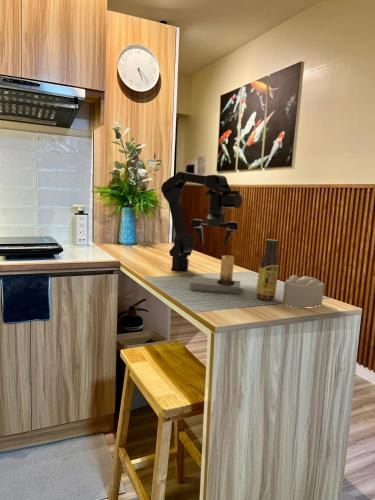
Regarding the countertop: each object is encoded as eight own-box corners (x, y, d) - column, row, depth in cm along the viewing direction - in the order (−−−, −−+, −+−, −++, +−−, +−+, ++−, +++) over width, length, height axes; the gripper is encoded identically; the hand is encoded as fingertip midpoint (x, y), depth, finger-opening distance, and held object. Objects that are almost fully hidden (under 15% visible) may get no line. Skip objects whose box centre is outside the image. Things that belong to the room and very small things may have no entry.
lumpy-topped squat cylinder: (326, 305, 120) (329, 279, 119) (300, 310, 113) (303, 283, 111) (300, 297, 128) (302, 272, 127) (274, 301, 121) (276, 275, 120)
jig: (190, 289, 130) (190, 282, 129) (194, 283, 139) (194, 276, 139) (238, 294, 127) (239, 287, 127) (239, 287, 137) (240, 281, 136)
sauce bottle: (263, 301, 120) (269, 241, 117) (252, 296, 125) (257, 238, 122) (279, 300, 123) (285, 240, 120) (267, 295, 128) (272, 238, 125)
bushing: (217, 289, 132) (219, 256, 130) (221, 286, 136) (224, 254, 134) (228, 291, 130) (231, 258, 128) (233, 289, 134) (236, 256, 132)
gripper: (189, 206, 141) (187, 246, 143) (238, 209, 138) (235, 250, 141) (194, 205, 152) (191, 243, 154) (239, 208, 149) (236, 246, 151)
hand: (213, 245), depth 150 cm, fingers open, 9 cm apart
